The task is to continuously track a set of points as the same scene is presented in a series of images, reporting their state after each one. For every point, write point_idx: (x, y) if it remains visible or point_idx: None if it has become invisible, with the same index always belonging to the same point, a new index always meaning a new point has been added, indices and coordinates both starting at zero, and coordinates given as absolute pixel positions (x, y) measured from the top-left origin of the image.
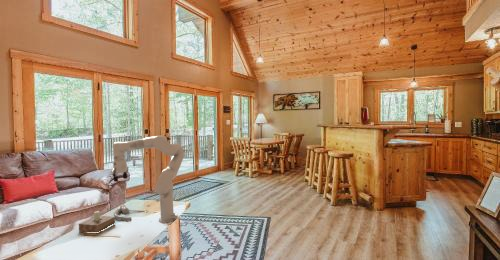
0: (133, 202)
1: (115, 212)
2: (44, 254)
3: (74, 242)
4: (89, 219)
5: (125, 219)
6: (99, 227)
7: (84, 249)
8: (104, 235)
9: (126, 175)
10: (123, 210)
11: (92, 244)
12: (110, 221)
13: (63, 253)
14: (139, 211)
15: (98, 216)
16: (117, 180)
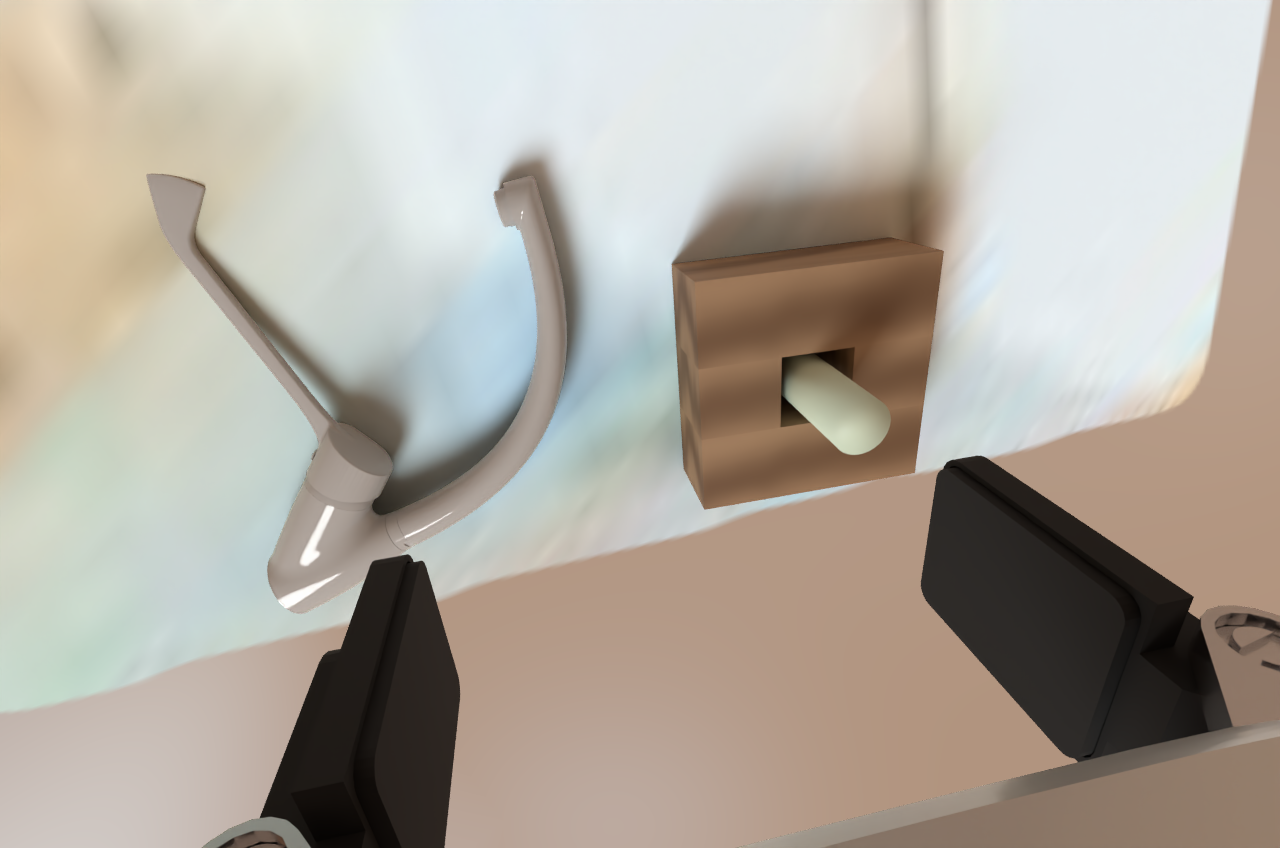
0: (42, 663)
1: (504, 467)
2: (1204, 308)
3: (1045, 281)
4: (808, 481)
5: (551, 237)
6: (895, 249)
7: (1175, 50)
8: (916, 128)
9: (376, 668)
10: (381, 468)
11: (1091, 66)
12: (751, 267)
13: (1214, 176)
14: (242, 308)
15: (844, 379)
16: (999, 470)
